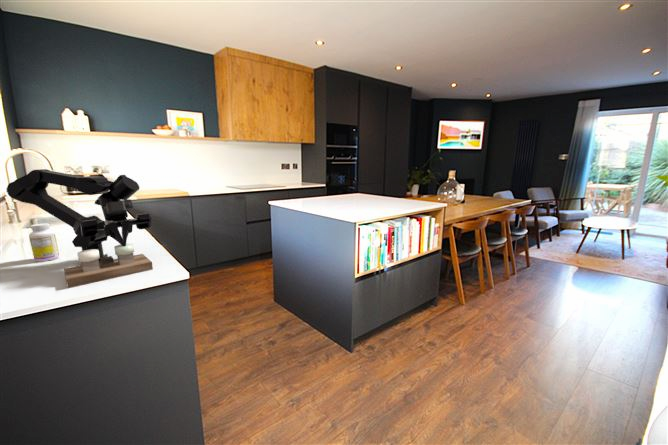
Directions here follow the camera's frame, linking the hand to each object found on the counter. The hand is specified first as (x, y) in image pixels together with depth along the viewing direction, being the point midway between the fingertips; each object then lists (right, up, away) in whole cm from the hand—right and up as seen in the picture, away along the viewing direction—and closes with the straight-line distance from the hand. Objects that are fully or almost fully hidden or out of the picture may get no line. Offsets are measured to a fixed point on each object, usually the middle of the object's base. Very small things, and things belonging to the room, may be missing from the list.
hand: (124, 245), depth 96 cm
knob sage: (-1, -6, +2) cm, 6 cm away
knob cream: (-7, -7, -4) cm, 11 cm away
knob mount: (-4, -9, 0) cm, 10 cm away
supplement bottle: (-37, -6, +13) cm, 40 cm away
